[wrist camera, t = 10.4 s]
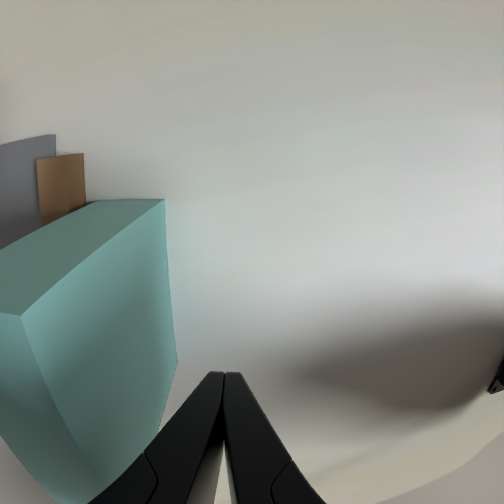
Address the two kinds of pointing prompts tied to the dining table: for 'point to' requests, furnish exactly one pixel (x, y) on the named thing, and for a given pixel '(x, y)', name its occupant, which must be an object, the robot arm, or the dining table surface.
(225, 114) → the dining table surface
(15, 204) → the mat
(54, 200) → the wooden block
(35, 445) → the slab
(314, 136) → the dining table surface
